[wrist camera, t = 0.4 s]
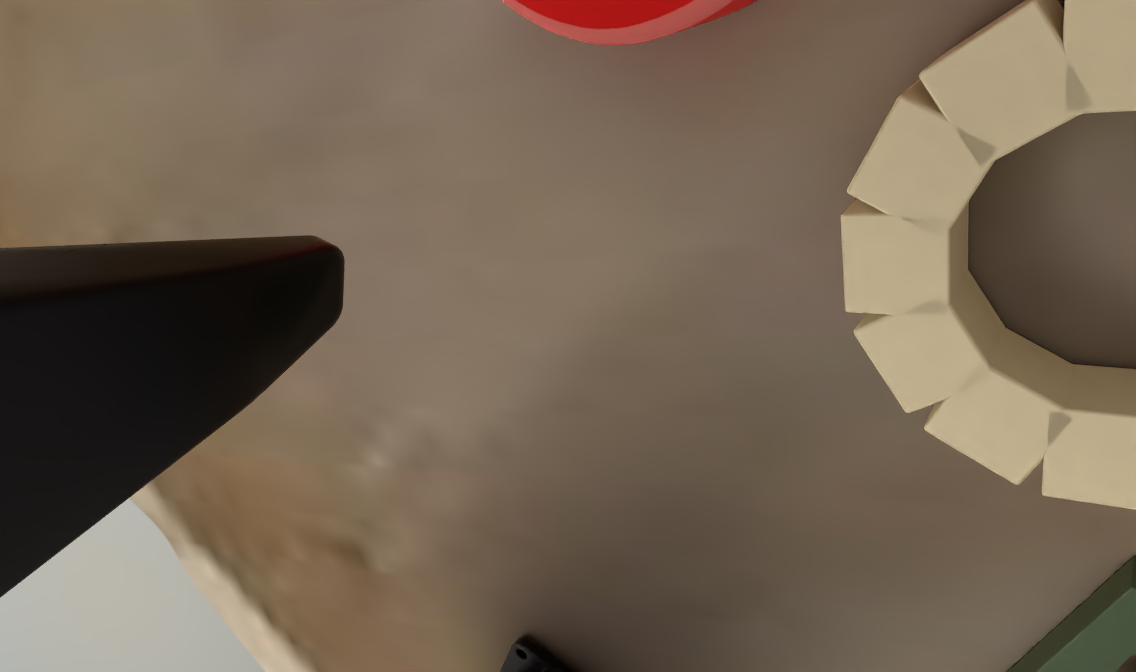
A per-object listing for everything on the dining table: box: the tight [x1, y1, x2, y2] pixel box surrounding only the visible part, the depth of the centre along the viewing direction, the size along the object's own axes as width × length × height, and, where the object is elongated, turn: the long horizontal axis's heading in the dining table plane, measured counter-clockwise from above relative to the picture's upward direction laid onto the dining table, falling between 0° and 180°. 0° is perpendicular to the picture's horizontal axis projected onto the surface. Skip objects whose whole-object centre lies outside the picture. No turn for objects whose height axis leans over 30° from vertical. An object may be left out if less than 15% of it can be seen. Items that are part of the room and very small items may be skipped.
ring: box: [841, 0, 1136, 510], centre depth 17 cm, size 10×10×2 cm
